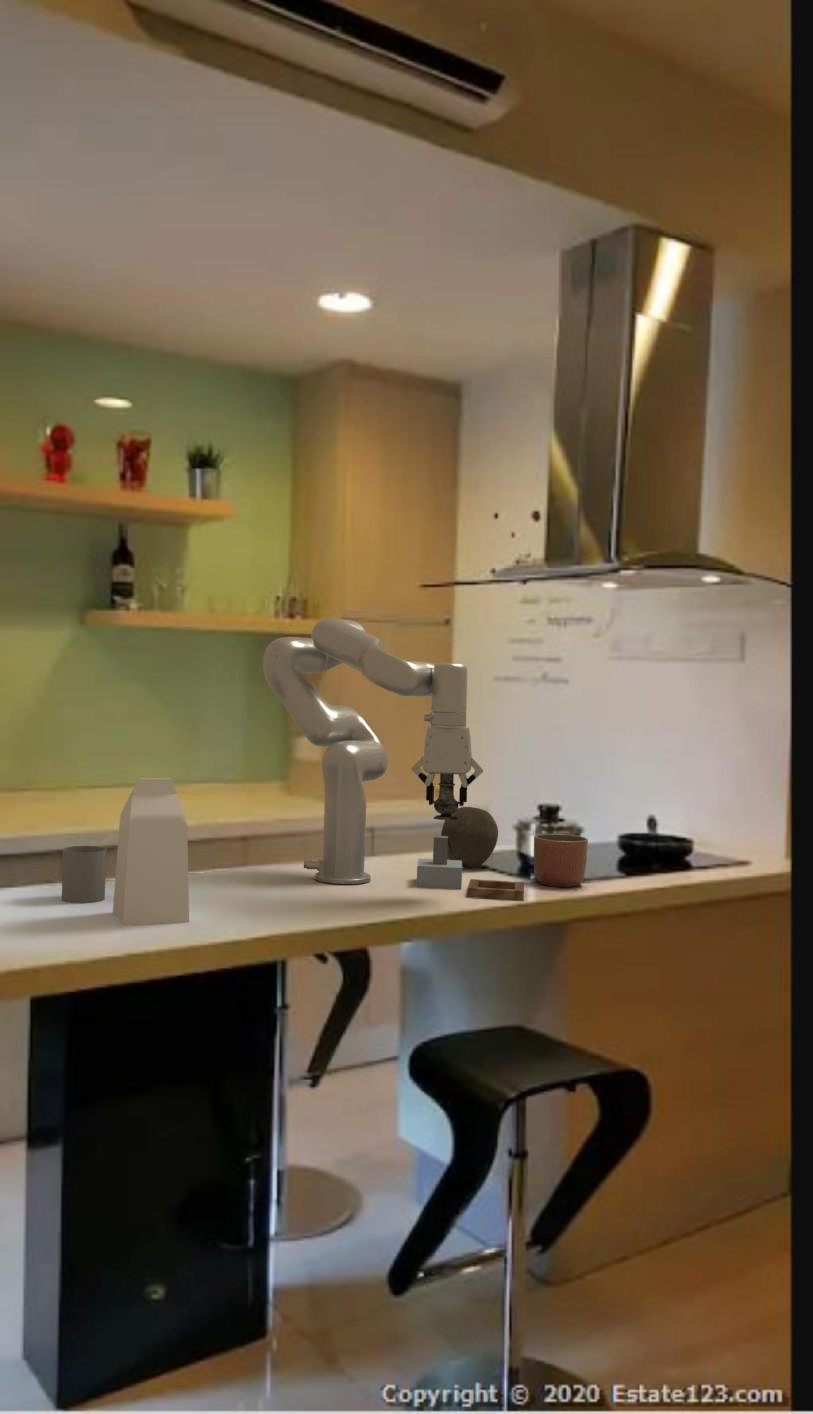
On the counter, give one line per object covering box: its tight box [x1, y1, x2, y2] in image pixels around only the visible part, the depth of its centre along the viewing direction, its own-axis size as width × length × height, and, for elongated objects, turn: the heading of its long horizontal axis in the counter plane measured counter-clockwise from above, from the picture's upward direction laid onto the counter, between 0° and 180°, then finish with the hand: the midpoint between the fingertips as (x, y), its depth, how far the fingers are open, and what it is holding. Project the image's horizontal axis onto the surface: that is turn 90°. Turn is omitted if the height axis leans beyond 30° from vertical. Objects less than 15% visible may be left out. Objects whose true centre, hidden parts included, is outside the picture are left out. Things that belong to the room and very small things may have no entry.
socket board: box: [466, 878, 525, 902], centre depth 245 cm, size 12×11×2 cm
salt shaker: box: [433, 774, 459, 821], centre depth 240 cm, size 6×6×12 cm
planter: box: [533, 833, 589, 888], centre depth 260 cm, size 12×12×11 cm
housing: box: [415, 835, 463, 890], centre depth 254 cm, size 10×10×11 cm
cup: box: [61, 845, 107, 905], centre depth 223 cm, size 8×8×10 cm
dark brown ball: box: [440, 806, 499, 869], centre depth 279 cm, size 14×14×15 cm
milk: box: [112, 777, 190, 927], centre depth 209 cm, size 12×12×26 cm
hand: (446, 804), depth 240 cm, fingers closed on salt shaker, 5 cm apart
